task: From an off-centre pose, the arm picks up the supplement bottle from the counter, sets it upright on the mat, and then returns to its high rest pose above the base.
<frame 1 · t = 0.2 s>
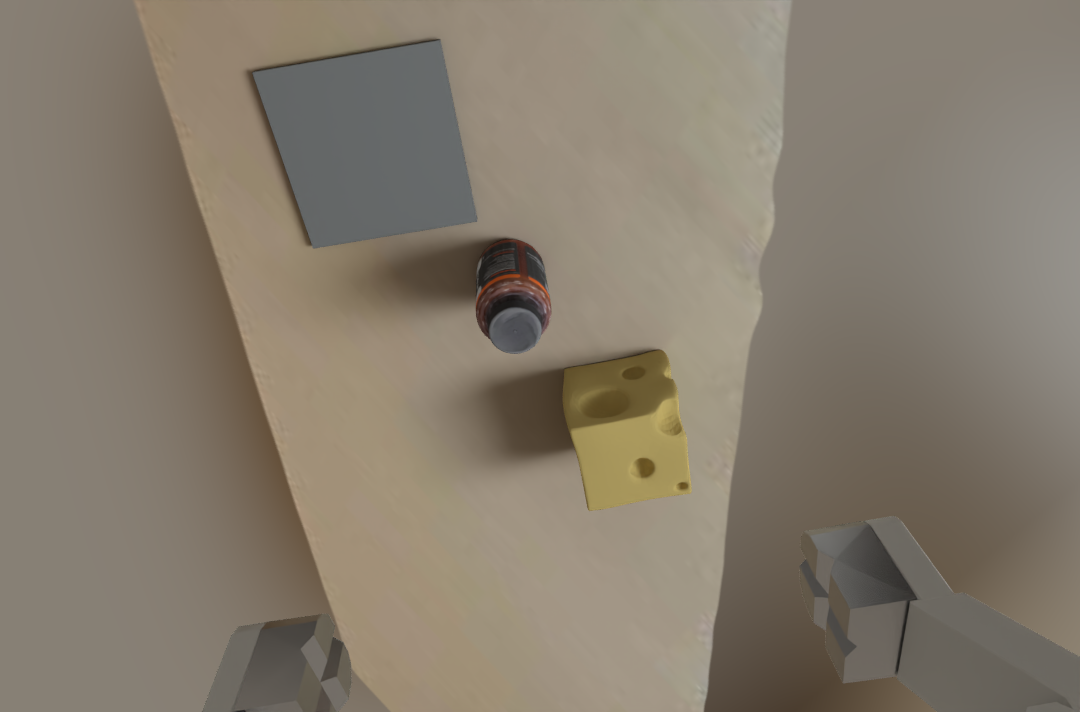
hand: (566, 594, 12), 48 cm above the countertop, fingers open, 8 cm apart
cheese: (616, 399, 68), on the countertop
supplement bottle: (510, 267, 60), on the countertop
mat: (373, 149, 54), on the countertop
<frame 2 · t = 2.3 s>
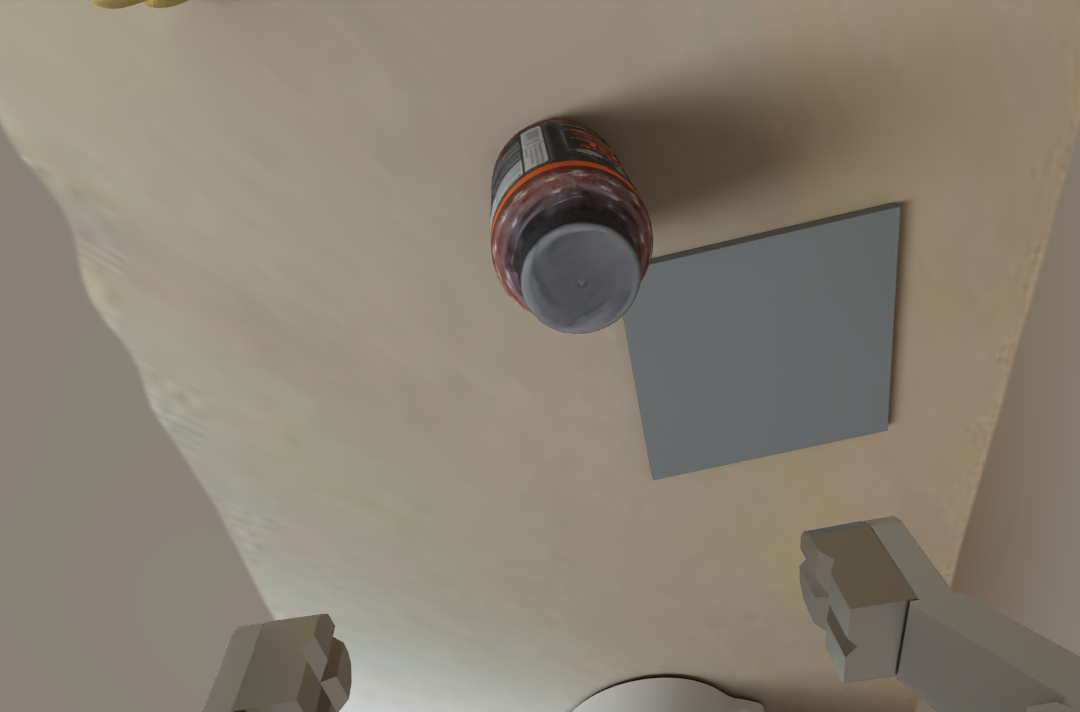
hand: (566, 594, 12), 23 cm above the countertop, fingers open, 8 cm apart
supplement bottle: (554, 179, 32), on the countertop
mat: (759, 352, 37), on the countertop
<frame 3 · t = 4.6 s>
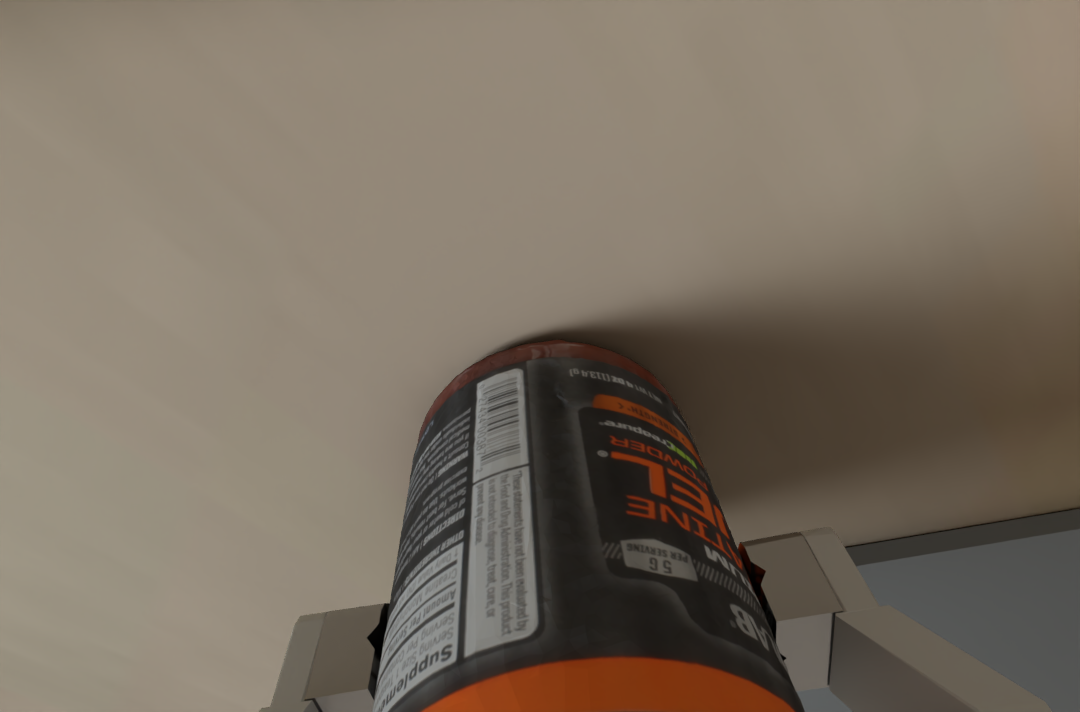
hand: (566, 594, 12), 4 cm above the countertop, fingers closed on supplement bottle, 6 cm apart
supplement bottle: (549, 438, 15), on the countertop, touching gripper
mat: (899, 693, 21), on the countertop
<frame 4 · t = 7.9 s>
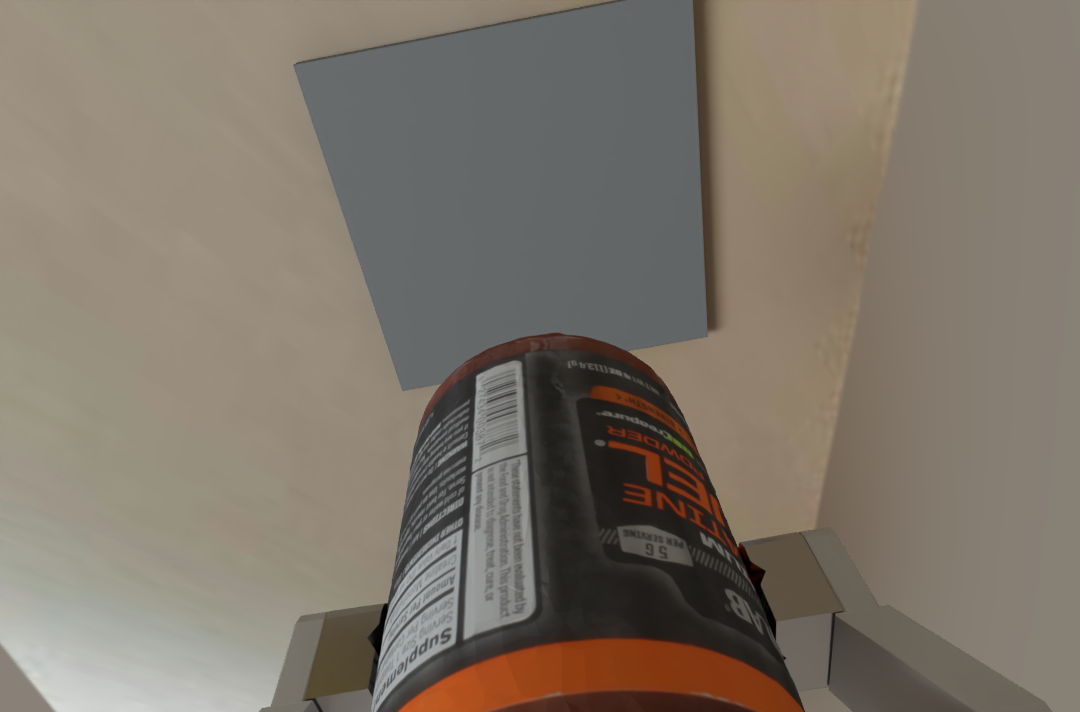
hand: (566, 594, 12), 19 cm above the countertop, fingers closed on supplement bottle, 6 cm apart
supplement bottle: (548, 431, 16), point 14 cm above the countertop, touching gripper
mat: (525, 213, 28), on the countertop
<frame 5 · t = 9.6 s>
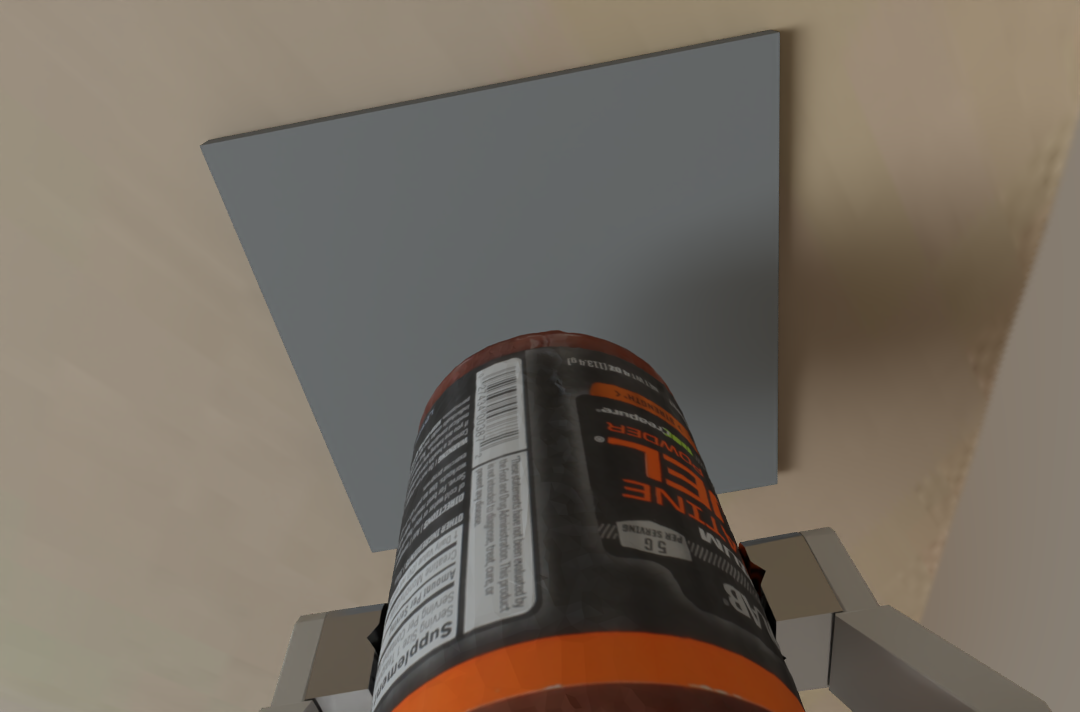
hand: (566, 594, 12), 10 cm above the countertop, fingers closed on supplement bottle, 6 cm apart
supplement bottle: (548, 428, 16), point 5 cm above the countertop, touching gripper
mat: (535, 333, 20), on the countertop
when the fingers open (6 cm above the countertop, at t = 10.8 s): supplement bottle stays where it is, resting on mat.
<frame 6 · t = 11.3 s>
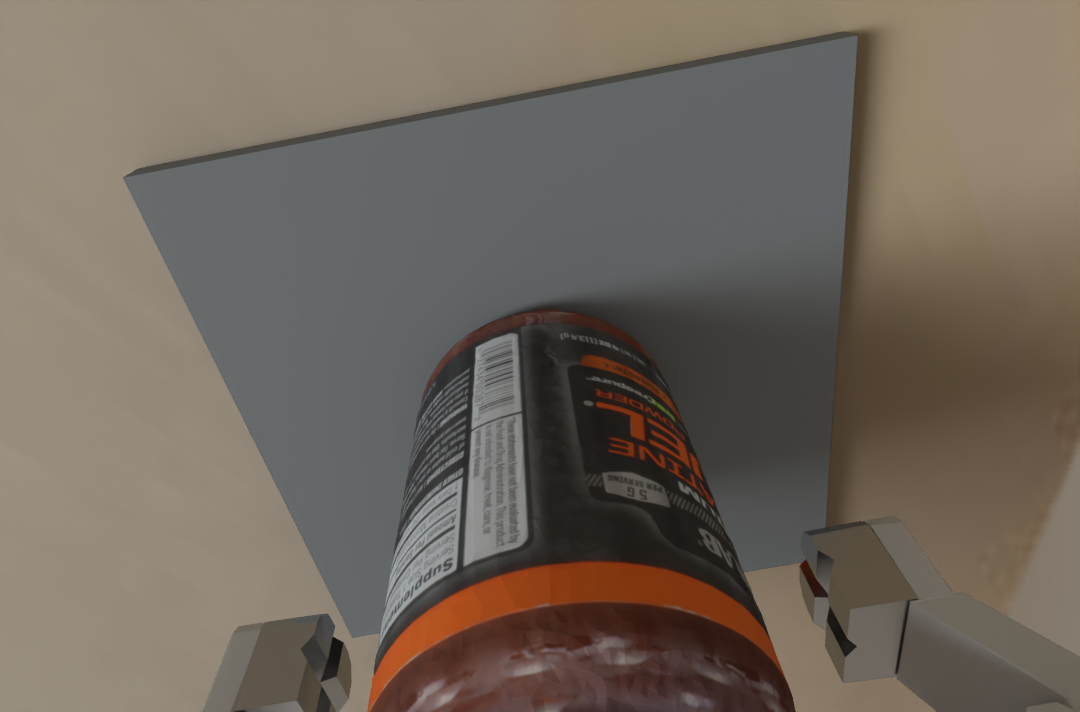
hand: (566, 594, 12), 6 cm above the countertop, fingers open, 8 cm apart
supplement bottle: (543, 404, 17), resting on mat
mat: (543, 393, 17), on the countertop
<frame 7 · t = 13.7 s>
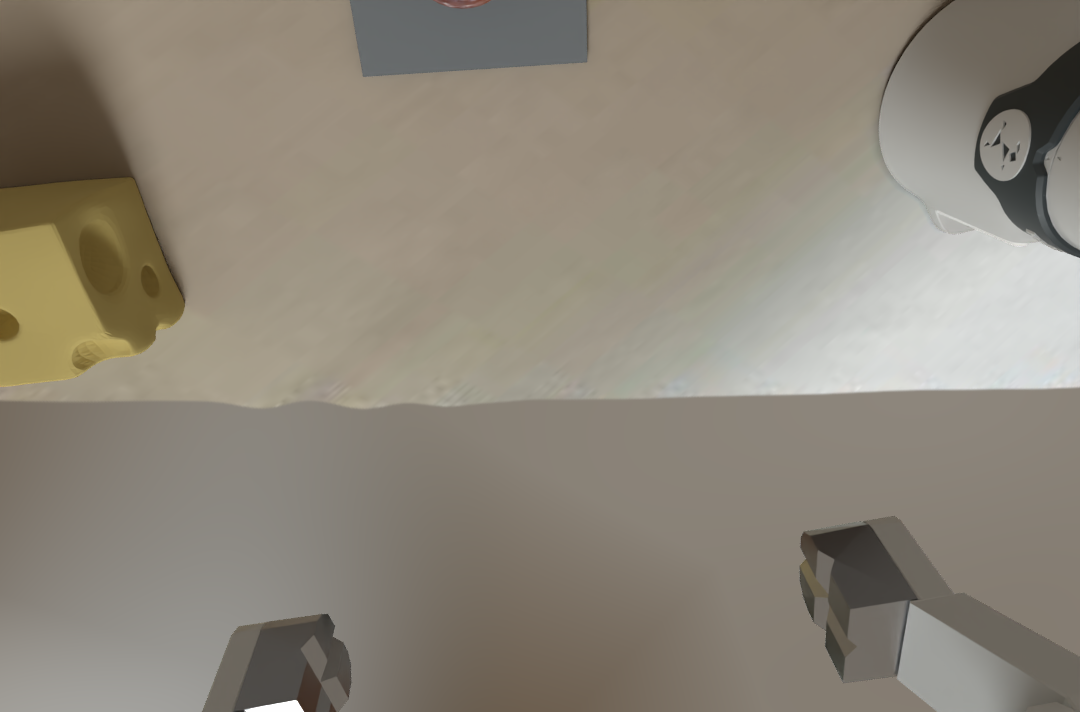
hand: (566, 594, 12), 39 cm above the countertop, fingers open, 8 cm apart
cheese: (89, 247, 48), on the countertop
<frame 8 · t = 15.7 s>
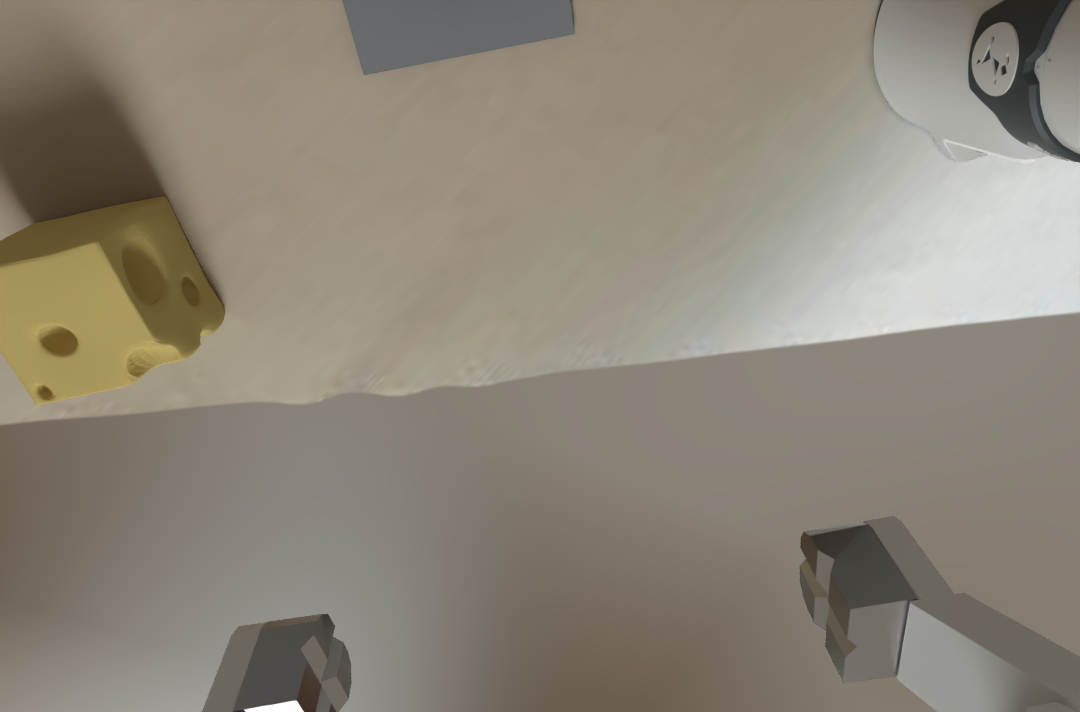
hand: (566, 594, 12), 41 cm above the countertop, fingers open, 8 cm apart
cheese: (133, 266, 51), on the countertop
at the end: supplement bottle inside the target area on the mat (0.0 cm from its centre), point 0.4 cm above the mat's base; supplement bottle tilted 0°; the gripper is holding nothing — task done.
